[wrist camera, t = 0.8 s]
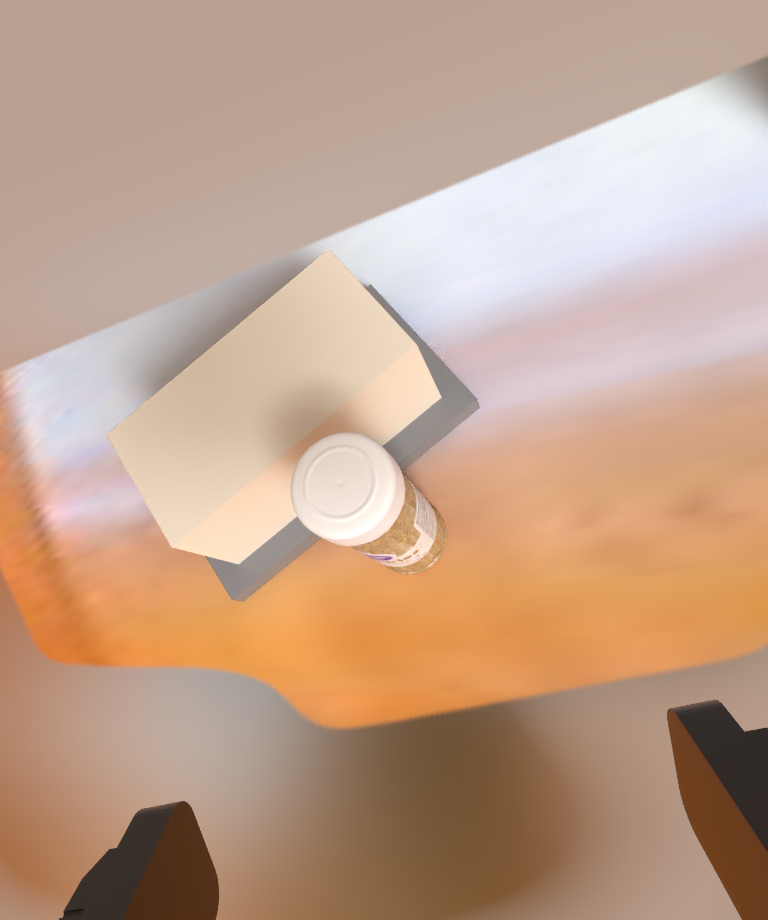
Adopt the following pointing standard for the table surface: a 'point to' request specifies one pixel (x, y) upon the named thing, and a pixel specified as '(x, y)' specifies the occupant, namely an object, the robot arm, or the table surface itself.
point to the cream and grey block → (282, 419)
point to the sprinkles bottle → (366, 503)
